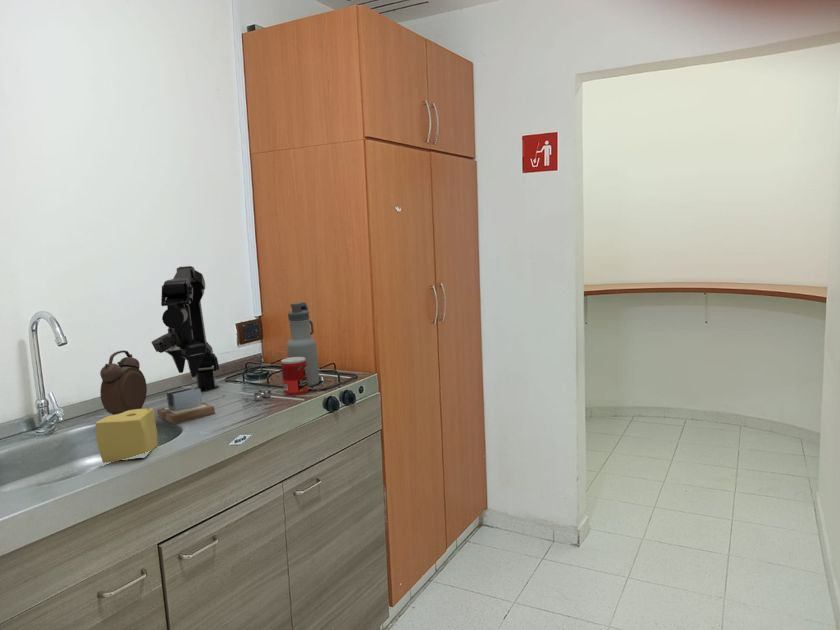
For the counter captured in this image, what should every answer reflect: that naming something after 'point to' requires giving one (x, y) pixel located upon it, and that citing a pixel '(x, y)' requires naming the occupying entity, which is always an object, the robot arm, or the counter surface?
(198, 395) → the housing
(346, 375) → the counter surface
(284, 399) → the counter surface
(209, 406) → the picture frame
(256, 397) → the loose bolts
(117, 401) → the alarm clock
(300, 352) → the water bottle
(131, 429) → the cheese
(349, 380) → the counter surface
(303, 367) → the canned food
